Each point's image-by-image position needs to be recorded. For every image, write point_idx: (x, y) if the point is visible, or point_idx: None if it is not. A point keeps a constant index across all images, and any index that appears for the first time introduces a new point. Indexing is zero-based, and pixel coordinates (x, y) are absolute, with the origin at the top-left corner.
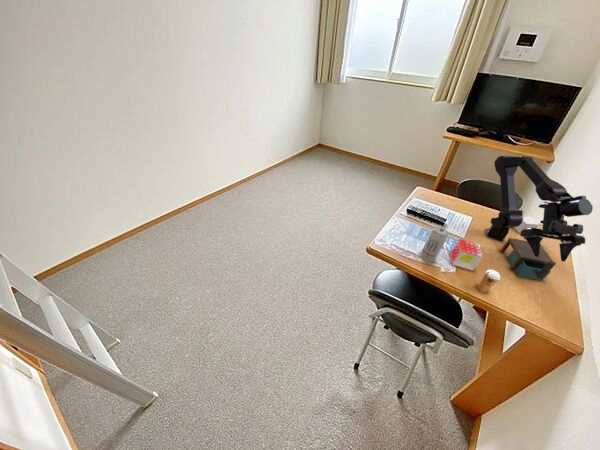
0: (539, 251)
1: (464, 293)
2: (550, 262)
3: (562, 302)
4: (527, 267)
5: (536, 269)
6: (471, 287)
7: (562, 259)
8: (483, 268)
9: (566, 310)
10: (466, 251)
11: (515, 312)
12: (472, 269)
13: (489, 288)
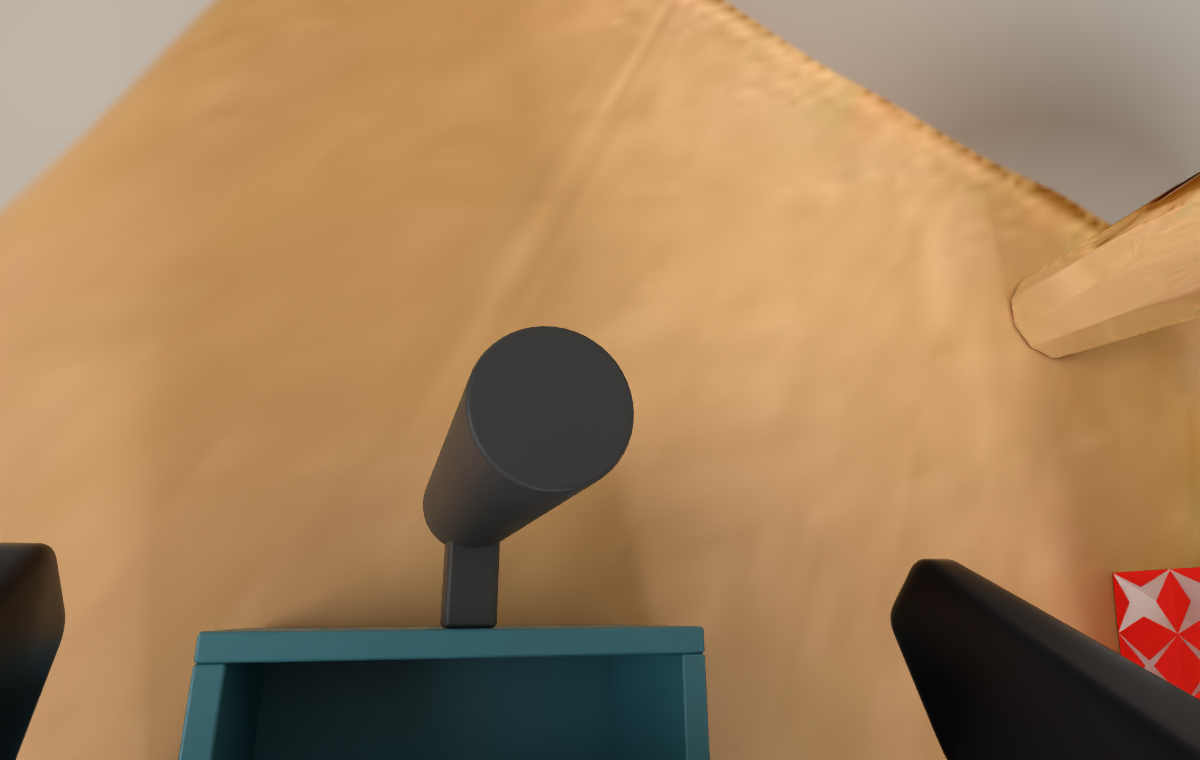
0: (1060, 661)
1: None
2: (620, 403)
3: (202, 245)
4: (676, 627)
5: (504, 630)
6: None
7: (31, 651)
8: None
9: (245, 134)
10: None
11: (824, 99)
12: (1130, 579)
13: (1077, 248)
